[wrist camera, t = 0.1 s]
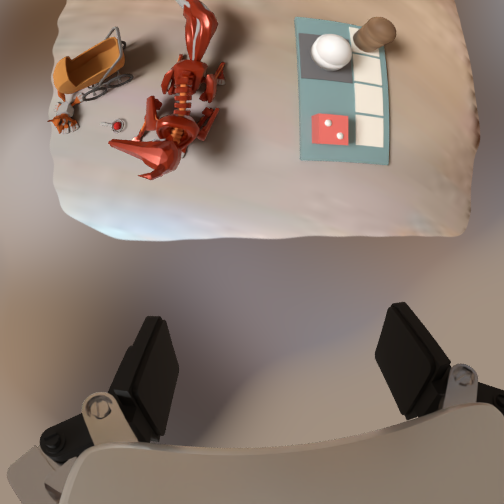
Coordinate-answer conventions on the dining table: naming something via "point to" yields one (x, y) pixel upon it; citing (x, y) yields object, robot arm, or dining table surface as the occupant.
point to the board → (341, 100)
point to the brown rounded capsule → (374, 34)
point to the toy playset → (168, 127)
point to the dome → (331, 52)
